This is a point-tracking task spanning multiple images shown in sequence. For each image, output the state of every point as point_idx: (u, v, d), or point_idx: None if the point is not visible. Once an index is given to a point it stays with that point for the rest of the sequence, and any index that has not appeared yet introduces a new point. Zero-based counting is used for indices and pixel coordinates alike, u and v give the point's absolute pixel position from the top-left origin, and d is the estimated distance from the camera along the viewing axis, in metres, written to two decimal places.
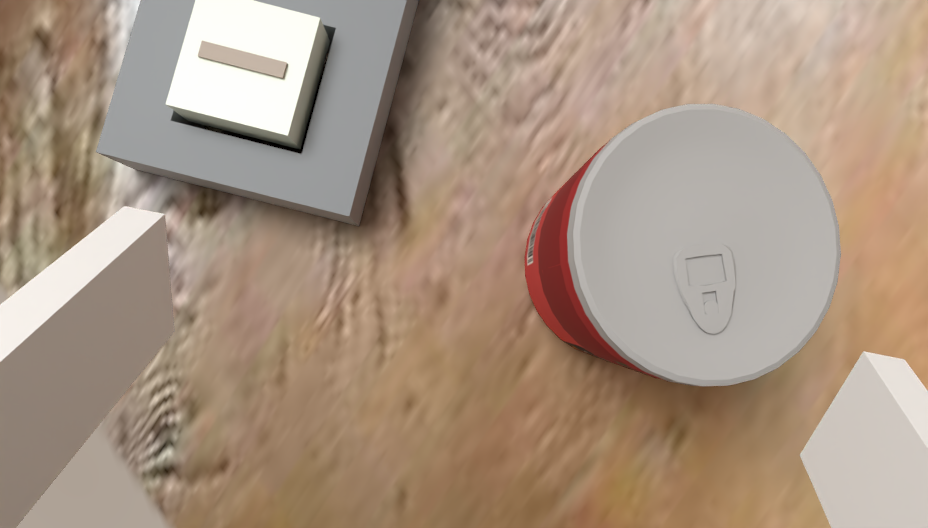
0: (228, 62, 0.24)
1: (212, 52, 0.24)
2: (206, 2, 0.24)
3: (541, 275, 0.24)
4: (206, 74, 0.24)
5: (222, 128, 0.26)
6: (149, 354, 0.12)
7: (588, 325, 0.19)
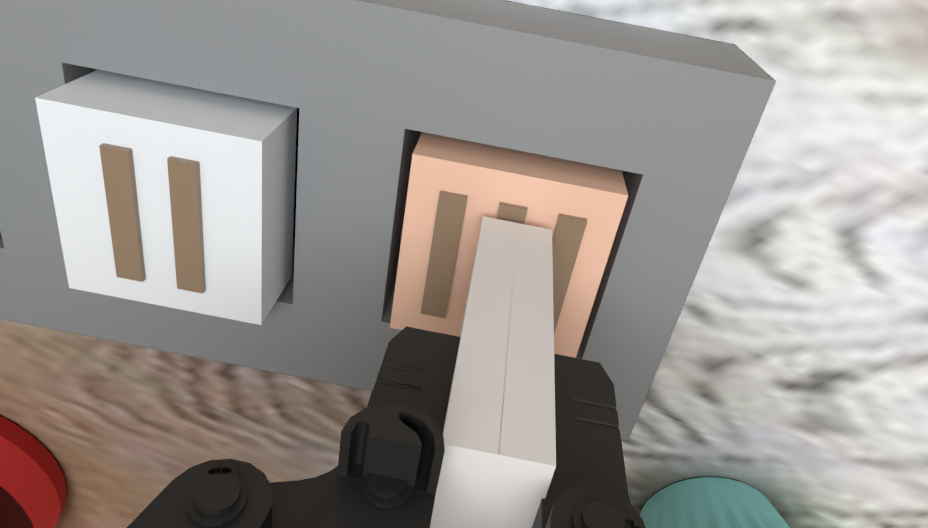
0: None
1: None
2: None
3: None
4: None
5: None
6: None
7: None
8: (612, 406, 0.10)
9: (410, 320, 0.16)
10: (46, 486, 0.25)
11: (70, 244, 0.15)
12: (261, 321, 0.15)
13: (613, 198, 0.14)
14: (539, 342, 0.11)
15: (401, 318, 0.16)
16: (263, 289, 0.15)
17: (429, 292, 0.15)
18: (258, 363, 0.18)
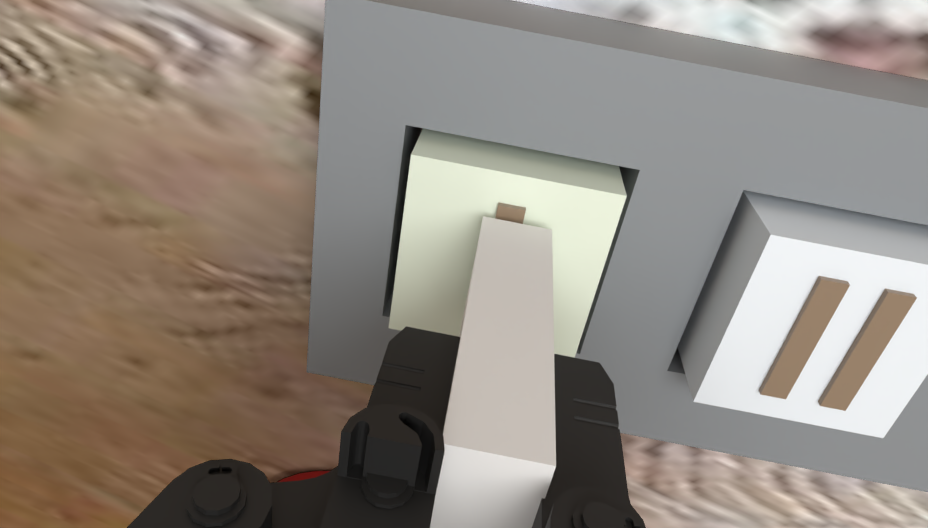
0: None
1: None
2: (596, 209, 0.14)
3: None
4: (469, 214, 0.14)
5: None
6: None
7: None
8: (612, 406, 0.10)
9: None
10: None
11: (721, 363, 0.15)
12: (883, 434, 0.16)
13: None
14: (539, 342, 0.11)
15: None
16: (901, 405, 0.15)
17: None
18: (795, 460, 0.18)
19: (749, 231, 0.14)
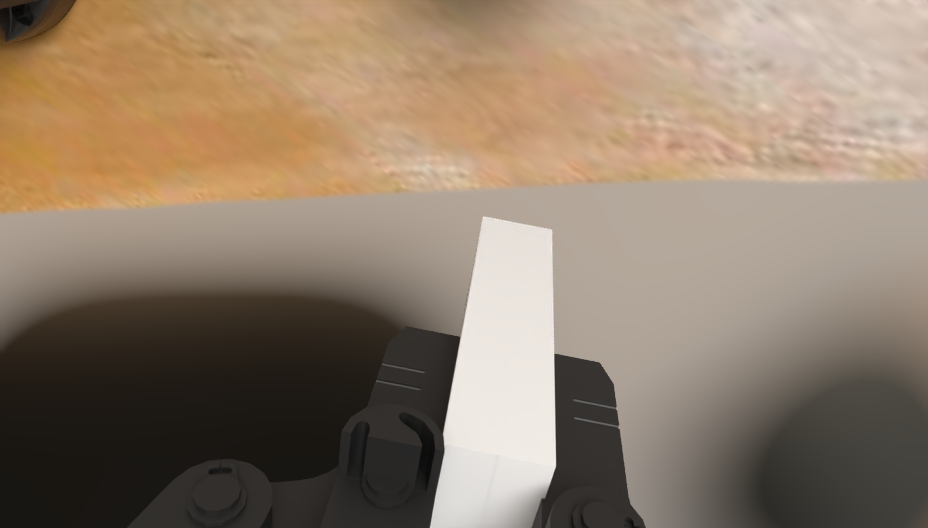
0: None
1: None
2: None
3: None
4: None
5: None
6: None
7: None
8: (612, 406, 0.10)
9: None
10: None
11: None
12: None
13: None
14: (539, 342, 0.11)
15: None
16: None
17: None
18: None
19: None
